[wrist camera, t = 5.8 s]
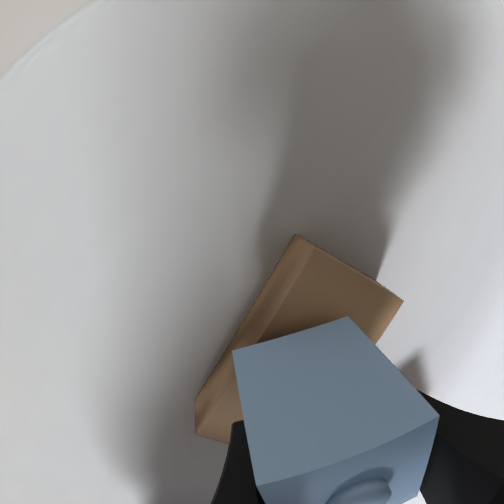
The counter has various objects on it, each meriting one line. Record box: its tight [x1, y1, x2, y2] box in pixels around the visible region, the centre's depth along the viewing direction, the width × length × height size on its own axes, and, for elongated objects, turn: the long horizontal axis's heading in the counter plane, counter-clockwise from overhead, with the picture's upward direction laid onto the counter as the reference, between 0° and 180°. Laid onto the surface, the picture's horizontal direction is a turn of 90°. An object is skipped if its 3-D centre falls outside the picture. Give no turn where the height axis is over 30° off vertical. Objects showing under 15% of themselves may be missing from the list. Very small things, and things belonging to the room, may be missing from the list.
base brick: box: [195, 234, 404, 444], centre depth 14 cm, size 10×5×3 cm, turn 150°
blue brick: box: [232, 316, 440, 504], centre depth 9 cm, size 4×4×6 cm
